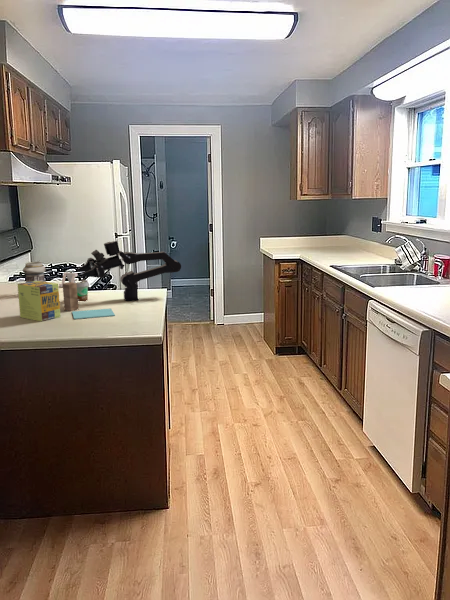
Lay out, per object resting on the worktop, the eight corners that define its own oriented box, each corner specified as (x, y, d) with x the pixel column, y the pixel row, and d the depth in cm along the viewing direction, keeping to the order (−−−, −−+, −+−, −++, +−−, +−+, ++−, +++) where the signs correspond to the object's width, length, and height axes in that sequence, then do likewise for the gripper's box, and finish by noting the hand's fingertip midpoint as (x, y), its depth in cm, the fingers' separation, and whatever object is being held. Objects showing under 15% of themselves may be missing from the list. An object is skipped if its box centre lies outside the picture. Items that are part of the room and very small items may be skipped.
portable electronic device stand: (59, 287, 301) (58, 273, 300) (68, 285, 308) (67, 271, 307) (70, 288, 298) (69, 274, 296) (79, 286, 305) (78, 272, 303)
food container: (83, 303, 258) (81, 284, 256) (72, 302, 259) (70, 283, 257) (94, 298, 270) (92, 279, 268) (83, 298, 271) (82, 279, 269)
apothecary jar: (20, 296, 277) (17, 263, 273) (35, 292, 288) (33, 260, 284) (37, 297, 272) (34, 264, 268) (52, 293, 283) (50, 261, 279)
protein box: (42, 321, 222) (39, 287, 218) (19, 317, 230) (16, 283, 226) (61, 316, 230) (58, 283, 227) (39, 312, 238) (36, 280, 235)
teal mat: (111, 309, 244) (110, 308, 244) (114, 315, 231) (114, 314, 231) (72, 312, 238) (72, 311, 238) (74, 319, 225) (73, 318, 225)
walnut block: (71, 308, 247) (70, 282, 244) (78, 309, 244) (76, 283, 242) (64, 310, 243) (62, 283, 240) (71, 311, 241) (69, 284, 238)
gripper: (100, 244, 262) (70, 253, 256) (111, 252, 247) (80, 261, 241) (105, 264, 267) (76, 273, 261) (116, 273, 252) (86, 283, 245)
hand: (79, 272), depth 252 cm, fingers open, 9 cm apart
